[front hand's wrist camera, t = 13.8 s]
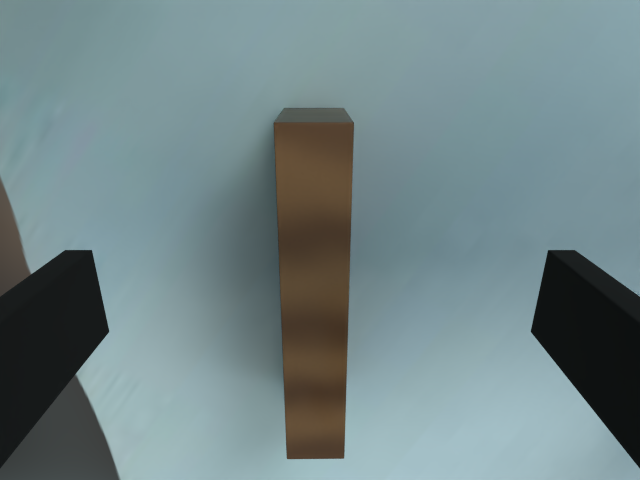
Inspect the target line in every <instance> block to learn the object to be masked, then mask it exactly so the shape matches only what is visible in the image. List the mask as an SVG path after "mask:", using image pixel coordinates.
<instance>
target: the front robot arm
mask: <svg viewBox="0 0 640 480" xmlns="http://www.w3.org/2000/svg"><path fill="white" fill-rule="evenodd" d="M108 333H109V328H108V324H107V319H106V314H105V310H104V305H103V300H102V296H101V291H100V286H99V281H98V277H97V272H96V267H95V263H94V258H93V253H92V250H65V251H63V252H62V253H61V254H59V255H58V256H56V257H55V258H54V259H52V260H51V261H49V262H48V263H47V264H45V265H44V266H43V267H41V268H40V269H38V270H37V271H36V272H34V273H33V274H31V275H30V276H29V277H27V278H26V279H24V280H23V281H22V282H20V283H19V284H17V285H16V286H15V287H13V288H12V289H10V290H9V291H8V292H6V293H5V294H4V295H2V296H1V297H0V468H1V467H2V465H3V464H4V463H5V462H6V460H7V459H8V458H9V457H10V455H11V454H12V453H13V452H14V450H15V449H16V448H17V447H18V445H19V444H20V443H21V442H22V440H23V439H24V438H25V437H26V435H27V434H28V433H29V432H30V430H31V429H32V428H33V427H34V425H35V424H36V423H37V422H38V420H39V419H40V418H41V417H42V415H43V414H44V413H45V411H46V410H47V409H48V408H49V406H50V405H51V404H52V403H53V401H54V400H55V399H56V398H57V396H58V395H59V394H60V393H61V391H62V390H63V389H64V388H65V386H66V385H67V384H68V383H69V381H70V380H71V379H72V378H73V376H74V375H75V374H76V373H77V371H78V370H79V369H80V368H81V366H82V365H83V364H84V363H85V361H86V360H87V359H88V358H89V356H90V355H91V354H92V353H93V351H94V350H95V349H96V348H97V346H98V345H99V344H100V343H101V341H102V340H103V339H104V338H105V336H106V335H107V334H108ZM531 333H532V334H533V335H534V336H535V338H536V339H537V340H538V341H539V343H540V344H541V345H542V346H543V348H544V349H545V350H546V351H547V353H548V354H549V355H550V356H551V358H552V359H553V360H554V361H555V363H556V364H557V365H558V366H559V368H560V369H561V370H562V371H563V373H564V374H565V375H566V376H567V378H568V379H569V380H570V381H571V383H572V384H573V385H574V386H575V388H576V389H577V390H578V391H579V393H580V394H581V395H582V396H583V398H584V399H585V400H586V401H587V403H588V404H589V405H590V406H591V408H592V409H593V410H594V412H595V413H596V414H597V415H598V417H599V418H600V419H601V420H602V422H603V423H604V424H605V425H606V427H607V428H608V429H609V430H610V432H611V433H612V434H613V435H614V437H615V438H616V439H617V440H618V442H619V443H620V444H621V445H622V447H623V448H624V449H625V450H626V452H627V453H628V454H629V455H630V457H631V458H632V459H633V460H634V462H635V463H636V464H637V465H638V467H639V468H640V297H639V296H638V295H637V294H635V293H634V292H632V291H631V290H630V289H628V288H627V287H625V286H624V285H623V284H621V283H620V282H618V281H617V280H616V279H614V278H613V277H611V276H610V275H609V274H607V273H606V272H604V271H603V270H602V269H600V268H599V267H597V266H596V265H595V264H593V263H592V262H591V261H589V260H588V259H586V258H585V257H584V256H582V255H581V254H579V253H578V252H577V251H575V250H548V253H547V258H546V263H545V267H544V272H543V277H542V281H541V286H540V291H539V296H538V300H537V305H536V310H535V314H534V319H533V324H532V328H531Z"/></svg>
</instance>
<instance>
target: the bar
mask: <svg viewBox="0 0 640 480" xmlns="http://www.w3.org/2000/svg"><path fill="white" fill-rule="evenodd" d="M353 135H354V122H353V121H352V119H351V118H350V116H349V115H348V113H347V112H346V110H345V109H344V108H284V109H283V110H282V112H281V113H280V115H279V116H278V118H277V119H276V120H275V122H274V142H275V167H276V193H277V219H278V244H279V270H280V296H281V321H282V347H283V373H284V398H285V424H286V450H287V459H344V446H345V412H346V377H347V343H348V308H349V273H350V239H351V204H352V169H353Z"/></svg>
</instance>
